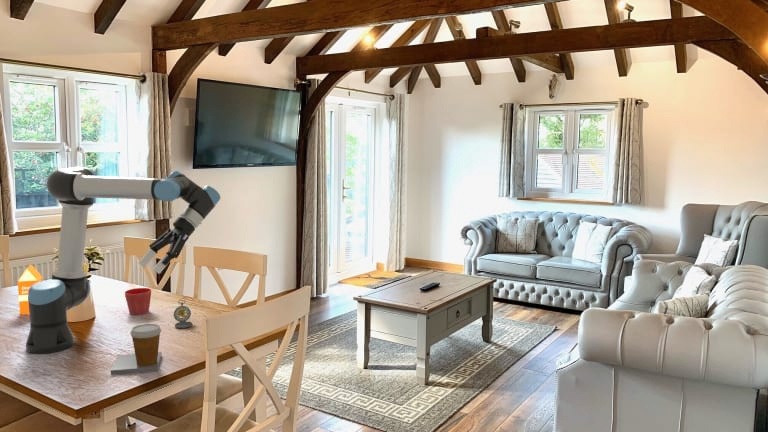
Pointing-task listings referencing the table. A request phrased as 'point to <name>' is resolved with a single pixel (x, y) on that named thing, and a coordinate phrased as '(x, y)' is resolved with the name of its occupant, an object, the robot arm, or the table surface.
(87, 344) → the table surface
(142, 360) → the disposable coffee cup
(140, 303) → the flower pot
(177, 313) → the pocket watch
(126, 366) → the slate tile
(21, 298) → the orange juice
